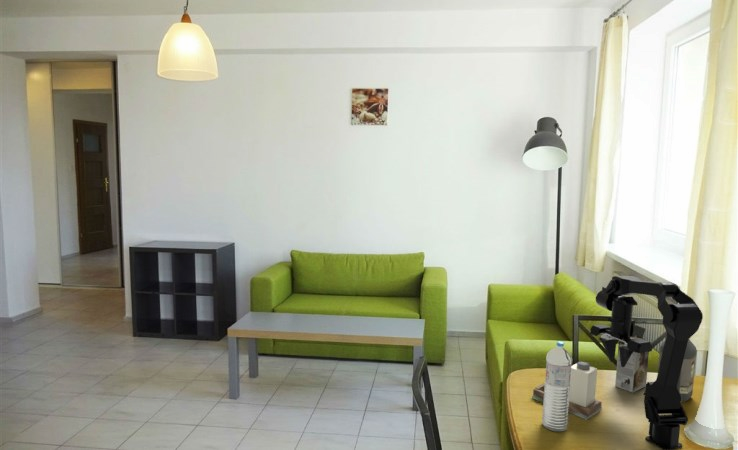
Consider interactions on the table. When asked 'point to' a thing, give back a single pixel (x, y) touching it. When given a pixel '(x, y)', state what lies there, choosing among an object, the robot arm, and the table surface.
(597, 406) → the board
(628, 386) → the coffee box
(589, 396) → the white juice carton
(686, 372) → the liquor
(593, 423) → the table surface
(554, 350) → the water bottle
